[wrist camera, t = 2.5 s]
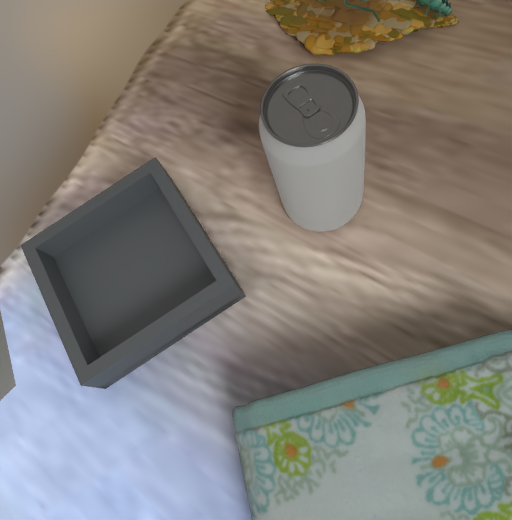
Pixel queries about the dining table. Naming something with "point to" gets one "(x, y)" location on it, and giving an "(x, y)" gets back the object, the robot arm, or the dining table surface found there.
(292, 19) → the frog figurine
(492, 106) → the dining table surface
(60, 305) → the tray
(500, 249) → the dining table surface
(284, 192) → the can
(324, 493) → the towel
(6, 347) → the robot arm
